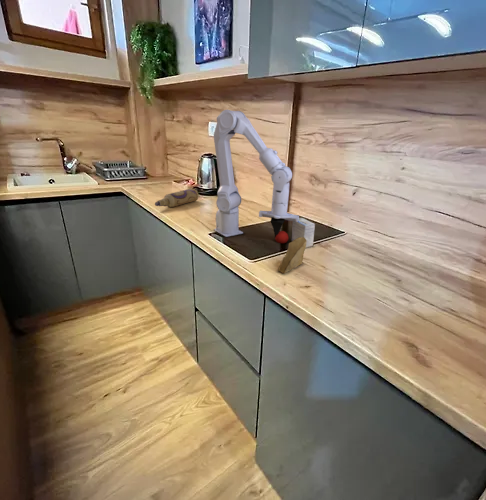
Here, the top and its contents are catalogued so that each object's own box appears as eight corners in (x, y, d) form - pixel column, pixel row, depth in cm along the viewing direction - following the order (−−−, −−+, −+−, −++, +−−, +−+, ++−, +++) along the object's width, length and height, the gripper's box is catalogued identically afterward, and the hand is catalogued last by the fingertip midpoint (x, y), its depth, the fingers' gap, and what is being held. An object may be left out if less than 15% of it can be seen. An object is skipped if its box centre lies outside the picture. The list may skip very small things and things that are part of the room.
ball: (270, 237, 114) (278, 227, 112) (279, 238, 117) (286, 229, 115) (276, 246, 111) (284, 236, 109) (285, 247, 115) (293, 238, 113)
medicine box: (313, 246, 110) (315, 223, 107) (303, 248, 108) (305, 225, 105) (300, 239, 117) (302, 217, 113) (291, 240, 114) (292, 218, 111)
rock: (285, 271, 85) (315, 262, 89) (275, 243, 87) (305, 235, 90) (273, 278, 95) (300, 268, 99) (264, 252, 97) (291, 244, 100)
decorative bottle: (189, 199, 165) (188, 187, 163) (199, 201, 162) (199, 189, 159) (150, 209, 145) (148, 195, 142) (161, 212, 141) (159, 198, 139)
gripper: (257, 202, 106) (255, 238, 111) (298, 207, 103) (294, 243, 109) (262, 197, 112) (260, 231, 118) (301, 202, 110) (297, 237, 115)
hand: (277, 237), depth 114 cm, fingers closed, pressing on ball
